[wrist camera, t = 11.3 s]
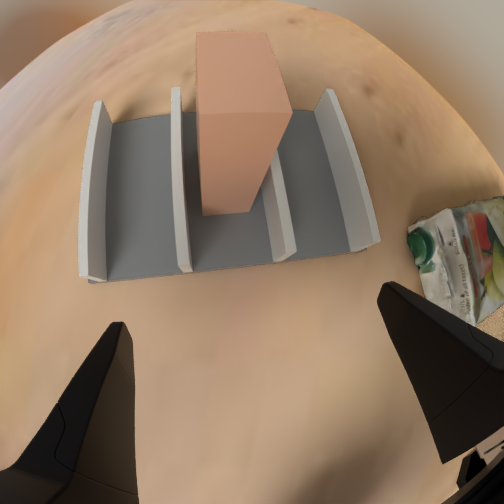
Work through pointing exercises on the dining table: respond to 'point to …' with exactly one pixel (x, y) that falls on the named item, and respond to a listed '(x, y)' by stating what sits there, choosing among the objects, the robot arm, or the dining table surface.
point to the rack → (189, 198)
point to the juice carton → (462, 258)
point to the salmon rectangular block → (236, 117)
